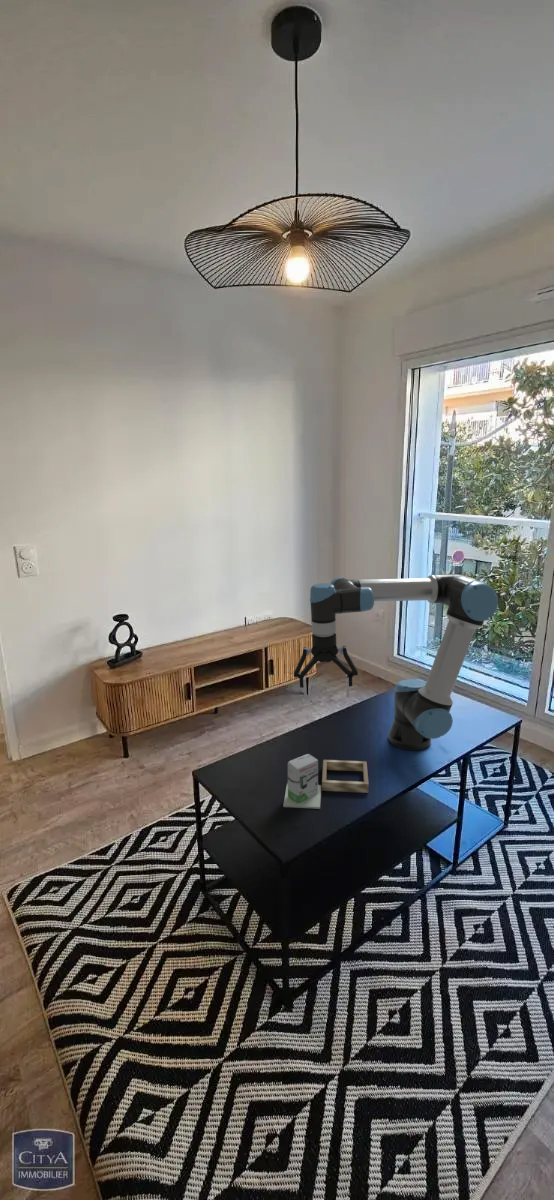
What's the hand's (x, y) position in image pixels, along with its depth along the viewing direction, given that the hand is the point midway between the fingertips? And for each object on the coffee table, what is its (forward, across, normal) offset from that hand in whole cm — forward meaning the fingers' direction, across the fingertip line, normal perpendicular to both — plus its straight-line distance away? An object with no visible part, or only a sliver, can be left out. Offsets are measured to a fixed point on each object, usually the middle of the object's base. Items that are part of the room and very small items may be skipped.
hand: (326, 695), depth 165 cm
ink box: (+26, +8, +15) cm, 31 cm away
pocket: (+27, -5, +5) cm, 28 cm away
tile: (+27, +9, +15) cm, 32 cm away
